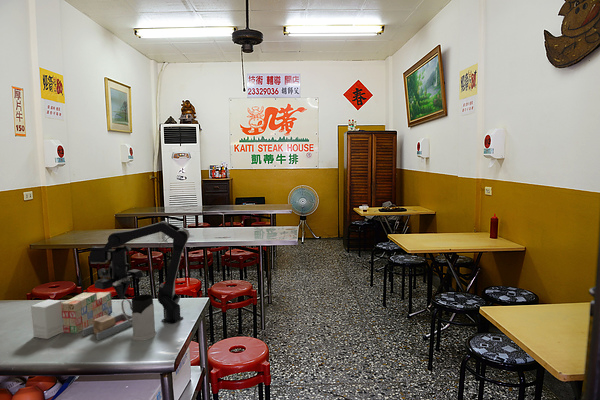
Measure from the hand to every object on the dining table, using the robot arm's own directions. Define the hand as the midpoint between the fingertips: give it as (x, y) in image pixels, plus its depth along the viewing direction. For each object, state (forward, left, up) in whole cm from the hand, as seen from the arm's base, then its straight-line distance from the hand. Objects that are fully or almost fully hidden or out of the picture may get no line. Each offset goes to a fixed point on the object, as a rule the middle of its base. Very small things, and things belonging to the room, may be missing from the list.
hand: (121, 298), depth 155 cm
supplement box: (+18, +19, -11) cm, 29 cm away
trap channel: (0, +6, -11) cm, 12 cm away
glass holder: (-14, +4, -11) cm, 18 cm away
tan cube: (0, +8, -11) cm, 14 cm away
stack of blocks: (+15, +5, -11) cm, 19 cm away
